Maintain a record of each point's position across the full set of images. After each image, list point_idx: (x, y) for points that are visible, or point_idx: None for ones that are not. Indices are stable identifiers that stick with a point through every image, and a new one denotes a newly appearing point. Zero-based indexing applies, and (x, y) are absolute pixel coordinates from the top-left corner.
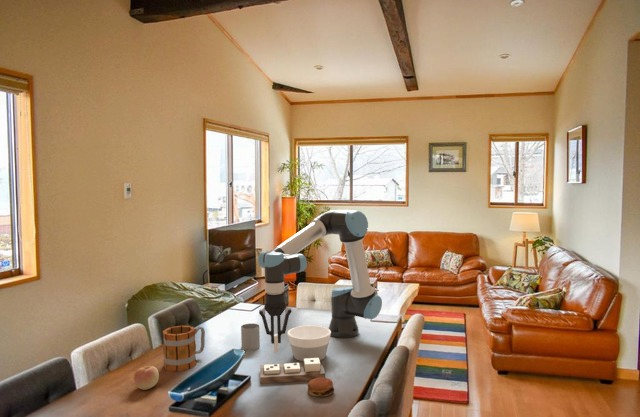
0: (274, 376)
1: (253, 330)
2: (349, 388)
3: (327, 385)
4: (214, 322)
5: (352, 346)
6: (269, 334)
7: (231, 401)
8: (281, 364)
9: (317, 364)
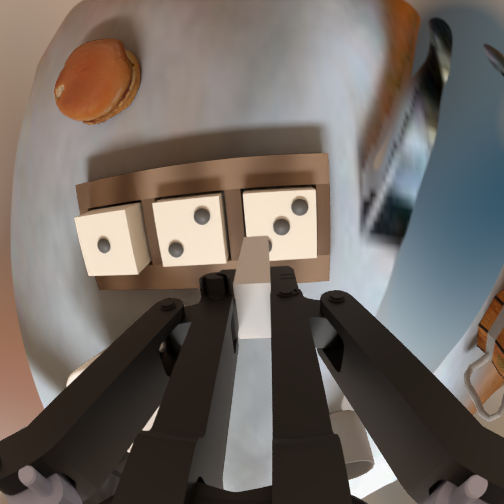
0: (266, 156)
1: None
2: (38, 123)
3: (70, 55)
4: (382, 482)
5: None
6: (316, 301)
7: (399, 41)
8: None
9: (85, 215)
